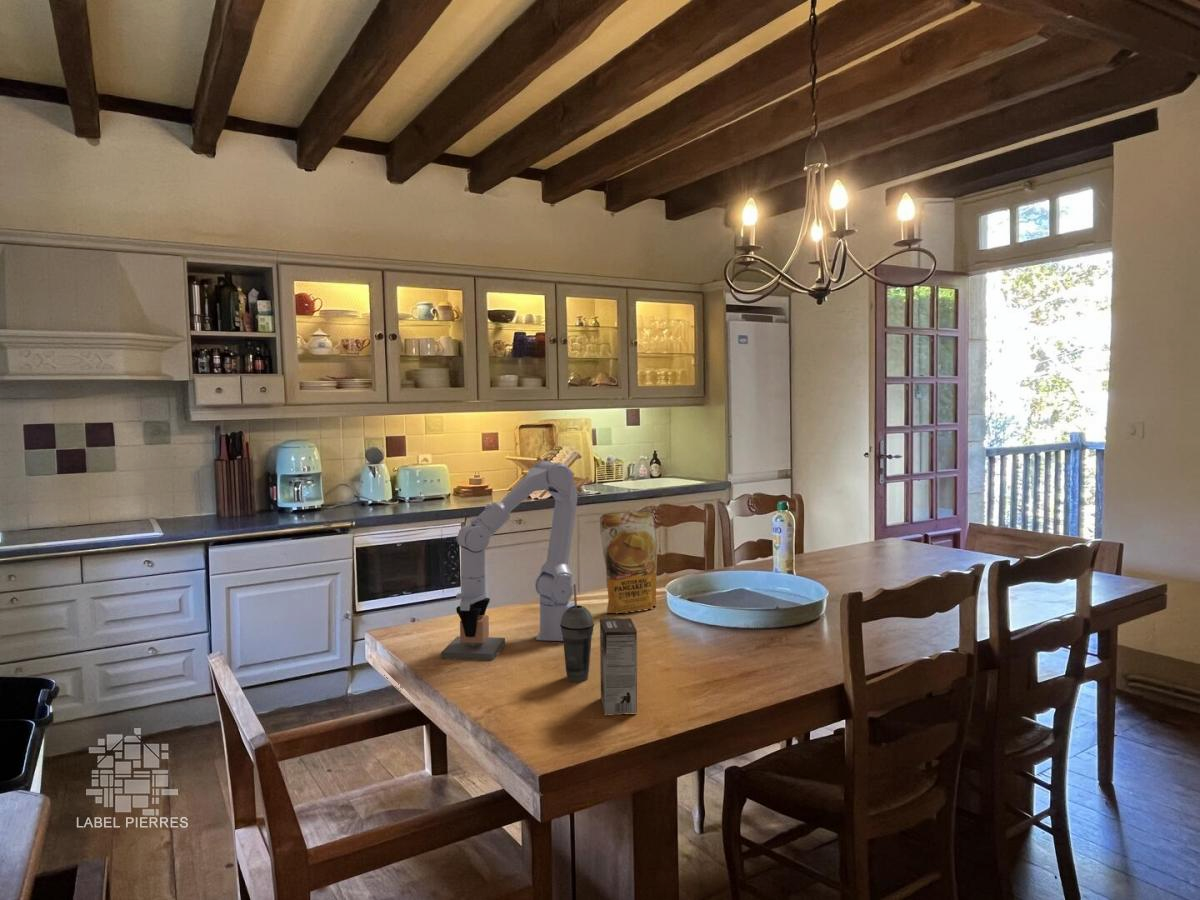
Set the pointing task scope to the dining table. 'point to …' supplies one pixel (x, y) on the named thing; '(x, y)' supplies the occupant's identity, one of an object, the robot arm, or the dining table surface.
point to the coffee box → (618, 665)
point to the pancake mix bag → (629, 560)
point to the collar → (477, 631)
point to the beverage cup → (577, 640)
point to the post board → (473, 649)
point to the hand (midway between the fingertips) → (473, 632)
